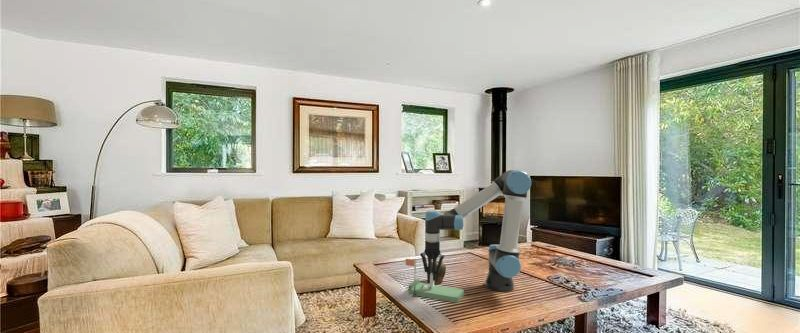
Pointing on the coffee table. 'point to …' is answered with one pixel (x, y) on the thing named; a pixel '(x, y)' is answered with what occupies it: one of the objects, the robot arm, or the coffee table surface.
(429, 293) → the mat
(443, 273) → the ribbed round cactus
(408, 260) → the flag pin
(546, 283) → the coffee table surface
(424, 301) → the coffee table surface
